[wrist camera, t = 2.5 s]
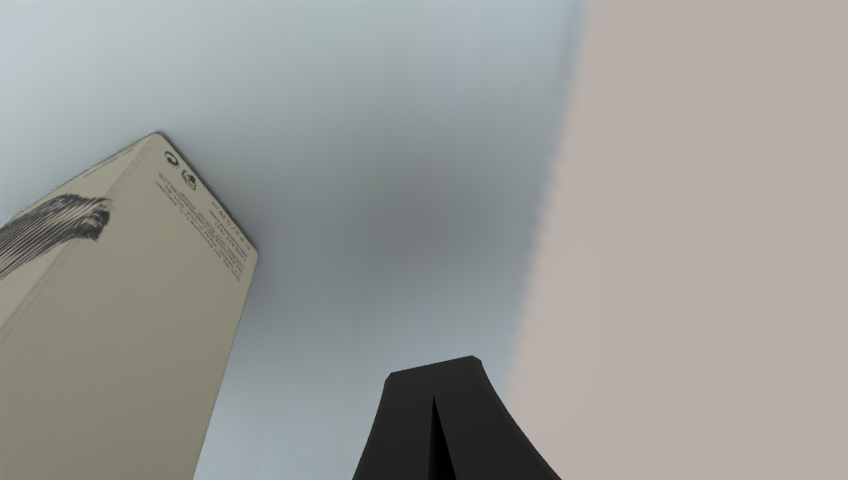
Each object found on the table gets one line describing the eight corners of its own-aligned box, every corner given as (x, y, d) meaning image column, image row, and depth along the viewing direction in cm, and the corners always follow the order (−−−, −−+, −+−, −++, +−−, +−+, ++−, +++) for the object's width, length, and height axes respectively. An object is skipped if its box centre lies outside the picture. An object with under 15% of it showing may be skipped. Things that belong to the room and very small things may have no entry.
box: (161, 122, 18) (-187, 560, 7) (266, 255, 20) (133, 776, 9) (-3, 223, 19) (-557, 761, 8) (112, 342, 21) (-195, 917, 9)
